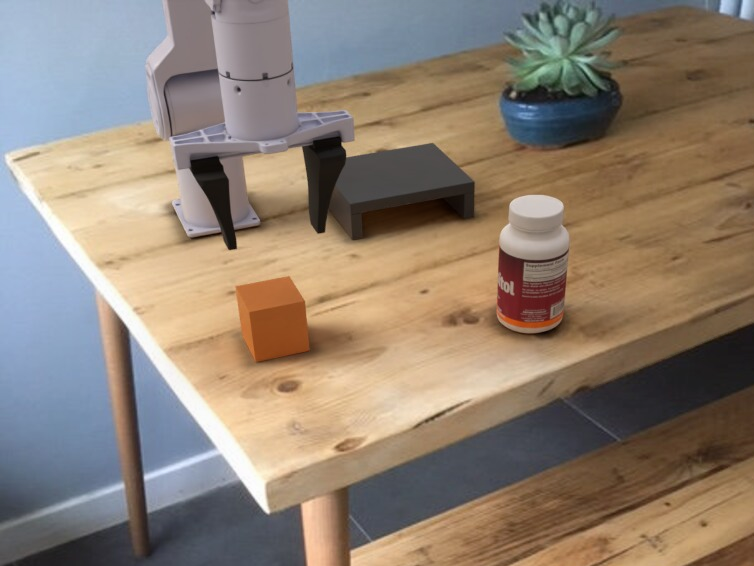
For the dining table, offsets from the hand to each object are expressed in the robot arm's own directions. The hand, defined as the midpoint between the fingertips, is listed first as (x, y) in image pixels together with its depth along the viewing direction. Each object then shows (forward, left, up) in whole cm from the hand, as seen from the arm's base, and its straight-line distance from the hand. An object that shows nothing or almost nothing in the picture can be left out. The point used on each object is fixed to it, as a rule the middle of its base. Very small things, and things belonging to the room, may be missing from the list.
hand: (274, 236), depth 88 cm
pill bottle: (+5, +22, -10) cm, 25 cm away
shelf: (-23, +19, -10) cm, 31 cm away
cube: (0, -1, -10) cm, 10 cm away
